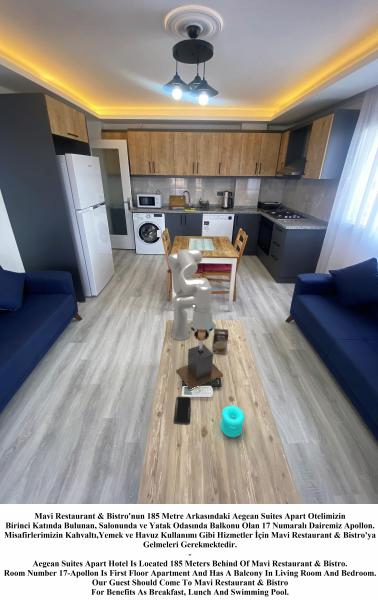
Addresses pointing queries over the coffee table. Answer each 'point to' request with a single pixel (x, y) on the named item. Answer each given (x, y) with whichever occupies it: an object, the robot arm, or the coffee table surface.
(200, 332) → the plunger
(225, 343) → the coffee box
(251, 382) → the coffee table surface
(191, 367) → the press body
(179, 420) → the phone
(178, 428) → the coffee table surface
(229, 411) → the donuts
